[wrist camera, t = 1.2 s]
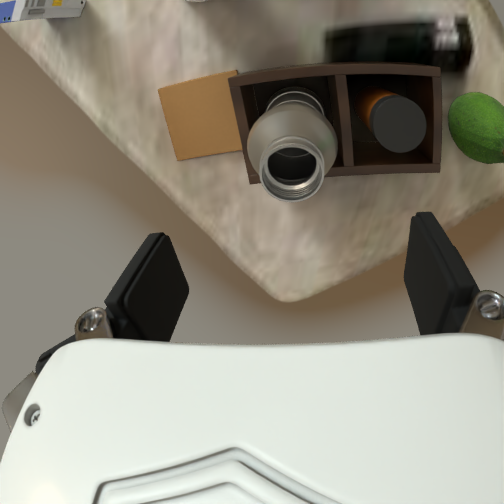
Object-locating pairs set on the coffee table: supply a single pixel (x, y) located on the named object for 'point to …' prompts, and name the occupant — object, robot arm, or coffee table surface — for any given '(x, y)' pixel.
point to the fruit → (478, 127)
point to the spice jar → (391, 118)
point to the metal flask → (292, 144)
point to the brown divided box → (357, 153)
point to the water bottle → (196, 0)
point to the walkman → (39, 9)
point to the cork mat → (201, 116)
